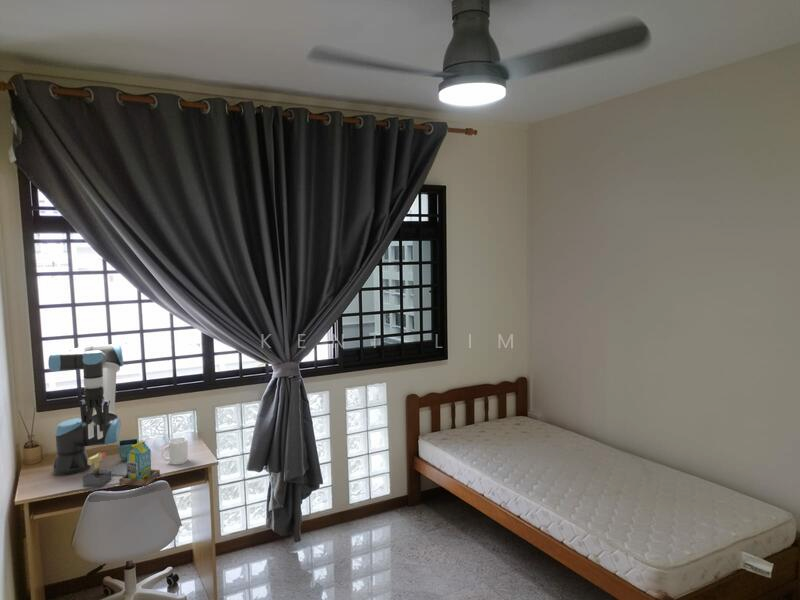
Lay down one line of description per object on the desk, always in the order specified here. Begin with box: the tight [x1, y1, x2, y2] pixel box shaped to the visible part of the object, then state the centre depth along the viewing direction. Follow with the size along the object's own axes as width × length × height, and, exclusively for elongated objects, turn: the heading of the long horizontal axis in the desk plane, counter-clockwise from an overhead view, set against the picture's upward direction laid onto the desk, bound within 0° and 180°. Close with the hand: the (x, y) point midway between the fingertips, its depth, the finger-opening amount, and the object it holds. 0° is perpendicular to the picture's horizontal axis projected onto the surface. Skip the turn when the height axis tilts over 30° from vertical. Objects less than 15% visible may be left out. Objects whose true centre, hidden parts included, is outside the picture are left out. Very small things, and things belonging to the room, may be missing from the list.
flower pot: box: [117, 438, 139, 463], centre depth 275 cm, size 9×9×9 cm
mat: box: [110, 461, 127, 477], centre depth 263 cm, size 14×14×1 cm
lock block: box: [82, 469, 112, 488], centre depth 248 cm, size 8×8×4 cm
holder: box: [118, 468, 161, 487], centre depth 252 cm, size 13×12×2 cm
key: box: [87, 451, 107, 474], centre depth 248 cm, size 9×2×8 cm, turn 172°
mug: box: [161, 437, 189, 466], centre depth 272 cm, size 9×12×11 cm
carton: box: [126, 440, 152, 479], centre depth 252 cm, size 7×8×18 cm
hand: (95, 437), depth 247 cm, fingers open, 3 cm apart
